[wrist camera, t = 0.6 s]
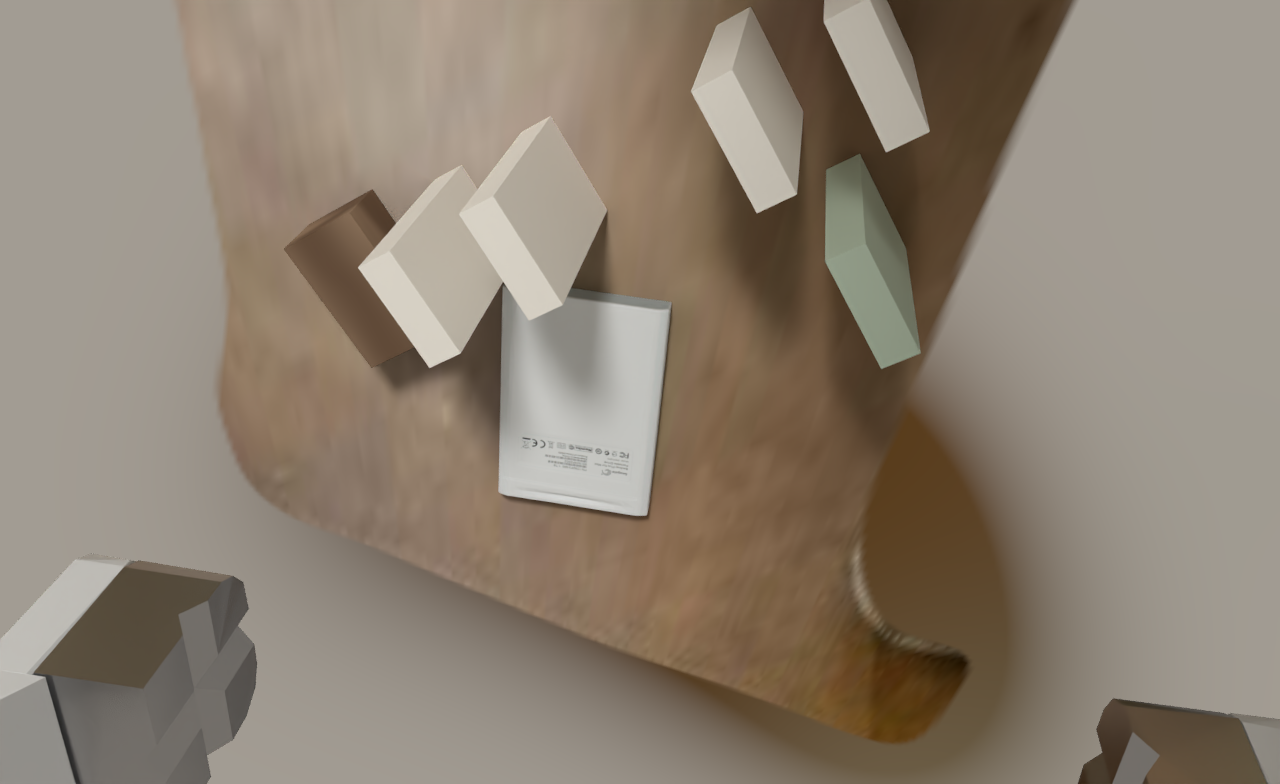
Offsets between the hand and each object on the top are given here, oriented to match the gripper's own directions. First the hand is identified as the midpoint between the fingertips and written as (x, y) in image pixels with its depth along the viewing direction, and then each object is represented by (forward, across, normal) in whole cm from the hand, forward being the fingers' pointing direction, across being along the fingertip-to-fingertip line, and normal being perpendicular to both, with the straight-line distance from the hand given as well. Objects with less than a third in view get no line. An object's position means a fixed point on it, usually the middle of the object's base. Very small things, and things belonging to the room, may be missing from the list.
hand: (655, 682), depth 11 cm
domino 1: (+41, +13, +12) cm, 45 cm away
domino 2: (+41, +9, +10) cm, 43 cm away
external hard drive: (+42, +8, +22) cm, 48 cm away
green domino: (+41, -5, +10) cm, 43 cm away
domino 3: (+41, +1, +4) cm, 41 cm away
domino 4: (+41, -4, +2) cm, 41 cm away
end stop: (+41, +18, +16) cm, 48 cm away
